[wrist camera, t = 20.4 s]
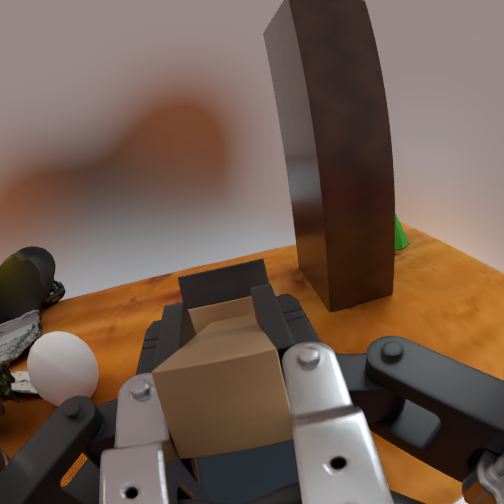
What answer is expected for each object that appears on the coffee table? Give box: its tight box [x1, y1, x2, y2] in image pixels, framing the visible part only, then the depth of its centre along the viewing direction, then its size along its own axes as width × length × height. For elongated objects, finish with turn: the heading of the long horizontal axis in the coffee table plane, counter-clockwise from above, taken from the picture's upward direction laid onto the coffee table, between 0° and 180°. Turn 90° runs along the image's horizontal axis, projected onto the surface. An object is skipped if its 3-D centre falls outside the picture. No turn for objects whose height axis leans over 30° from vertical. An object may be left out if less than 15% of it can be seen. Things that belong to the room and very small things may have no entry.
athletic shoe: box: [0, 246, 55, 324], centre depth 37 cm, size 12×25×12 cm
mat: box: [199, 440, 299, 504], centre depth 20 cm, size 12×18×1 cm, turn 8°
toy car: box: [41, 280, 65, 307], centre depth 46 cm, size 6×12×4 cm, turn 59°
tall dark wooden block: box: [263, 0, 395, 312], centre depth 31 cm, size 8×12×32 cm, turn 8°
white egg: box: [27, 331, 99, 407], centre depth 23 cm, size 10×7×7 cm
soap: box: [11, 370, 38, 394], centre depth 25 cm, size 10×4×1 cm, turn 94°
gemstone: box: [395, 214, 409, 249], centre depth 43 cm, size 6×6×6 cm
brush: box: [152, 259, 293, 459], centre depth 14 cm, size 6×18×5 cm
